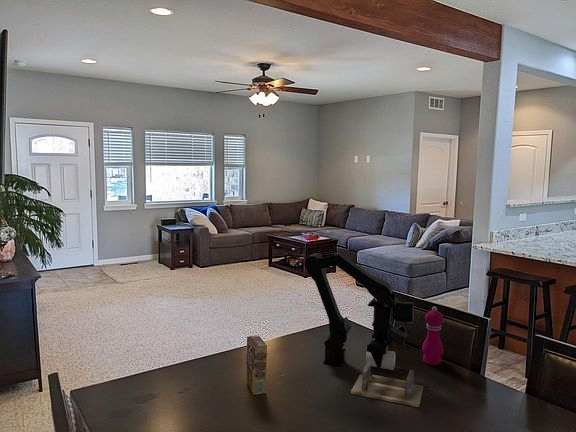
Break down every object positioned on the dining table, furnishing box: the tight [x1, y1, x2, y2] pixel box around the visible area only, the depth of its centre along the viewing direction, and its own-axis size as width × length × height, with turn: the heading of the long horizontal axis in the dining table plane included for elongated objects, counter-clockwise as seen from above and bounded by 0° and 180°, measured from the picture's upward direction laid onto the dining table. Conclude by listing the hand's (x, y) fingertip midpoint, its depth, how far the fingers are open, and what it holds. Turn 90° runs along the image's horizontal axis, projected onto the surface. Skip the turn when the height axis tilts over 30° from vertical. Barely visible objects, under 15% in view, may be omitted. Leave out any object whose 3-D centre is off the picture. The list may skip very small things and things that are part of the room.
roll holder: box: [350, 362, 424, 408], centre depth 138 cm, size 20×12×6 cm, turn 68°
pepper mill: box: [421, 306, 444, 366], centre depth 159 cm, size 7×7×20 cm
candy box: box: [245, 334, 268, 396], centre depth 138 cm, size 9×4×15 cm, turn 20°
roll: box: [365, 350, 396, 371], centre depth 153 cm, size 9×6×6 cm, turn 68°
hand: (380, 363), depth 153 cm, fingers closed on roll, 6 cm apart
